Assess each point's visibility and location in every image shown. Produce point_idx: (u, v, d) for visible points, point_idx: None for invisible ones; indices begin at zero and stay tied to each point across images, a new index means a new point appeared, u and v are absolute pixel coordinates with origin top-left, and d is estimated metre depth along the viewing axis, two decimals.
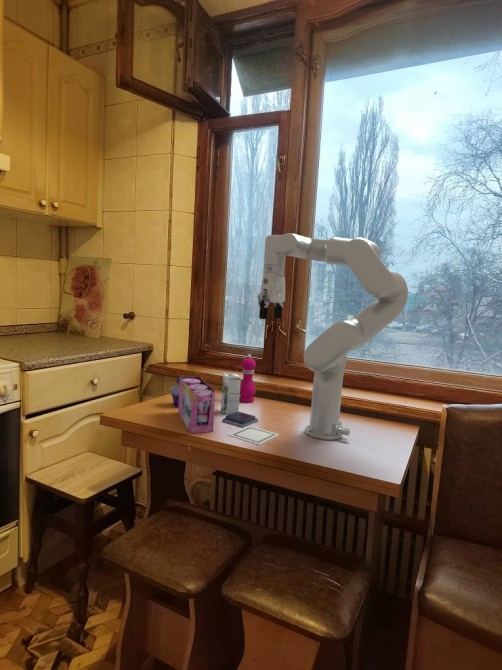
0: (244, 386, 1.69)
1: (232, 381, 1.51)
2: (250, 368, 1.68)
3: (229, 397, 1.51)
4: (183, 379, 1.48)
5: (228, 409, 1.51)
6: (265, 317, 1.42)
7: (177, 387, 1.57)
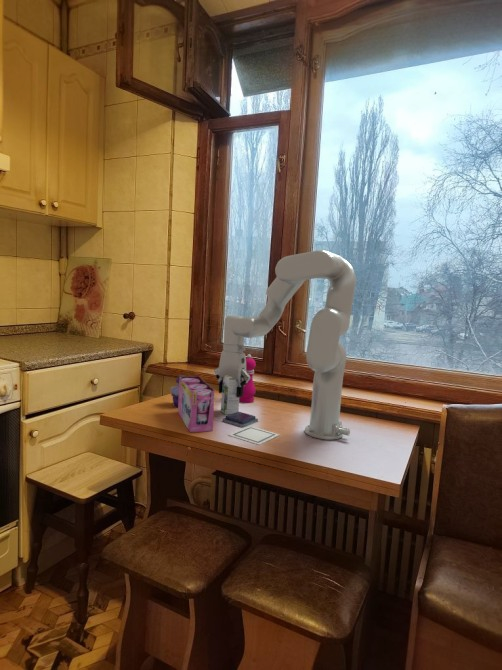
0: (244, 386, 1.69)
1: (232, 381, 1.51)
2: (250, 368, 1.68)
3: (229, 397, 1.51)
4: (183, 379, 1.49)
5: (228, 409, 1.51)
6: (241, 394, 1.52)
7: (177, 387, 1.57)
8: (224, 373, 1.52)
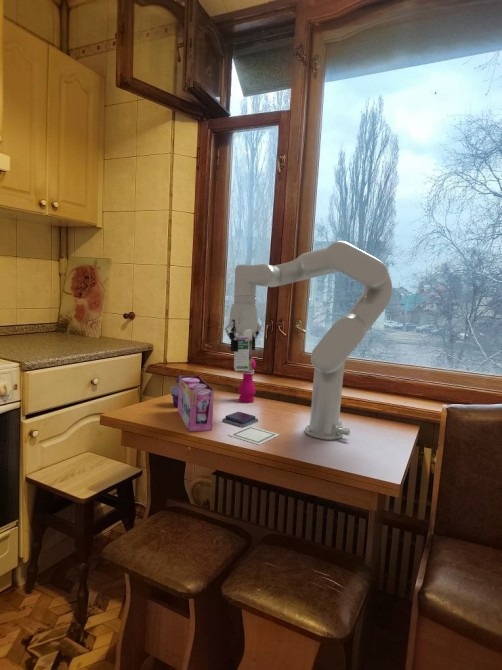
0: (244, 386, 1.69)
1: None
2: None
3: None
4: (182, 378, 1.49)
5: None
6: None
7: (177, 387, 1.57)
8: (244, 328, 1.40)
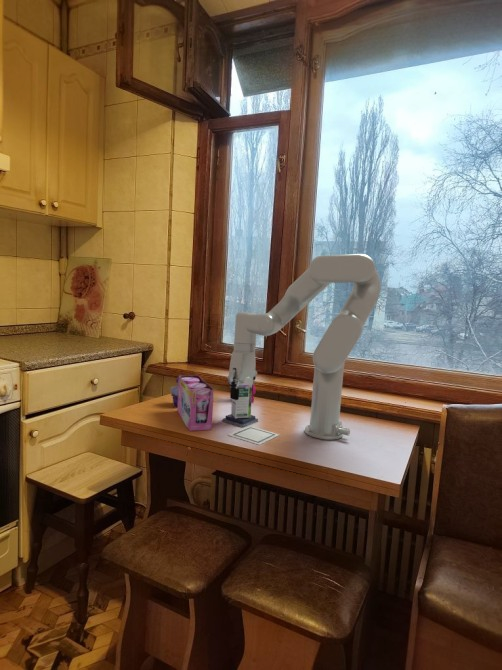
0: None
1: None
2: None
3: None
4: (182, 378, 1.50)
5: None
6: None
7: (177, 387, 1.57)
8: (245, 376, 1.40)
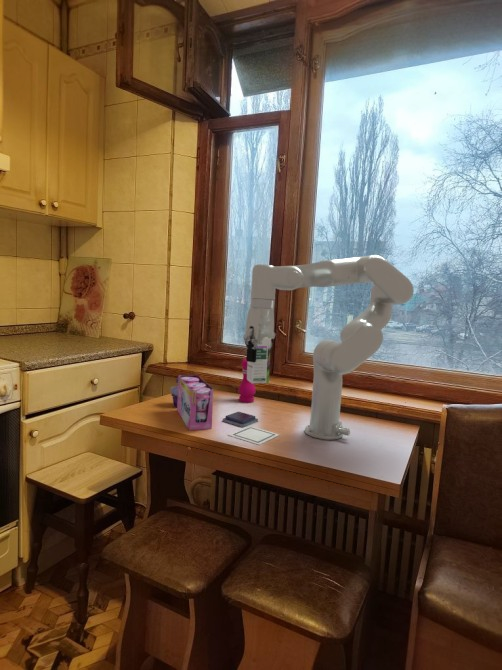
0: (244, 386, 1.69)
1: None
2: None
3: None
4: (182, 377, 1.51)
5: None
6: None
7: (177, 387, 1.57)
8: (263, 336, 1.25)
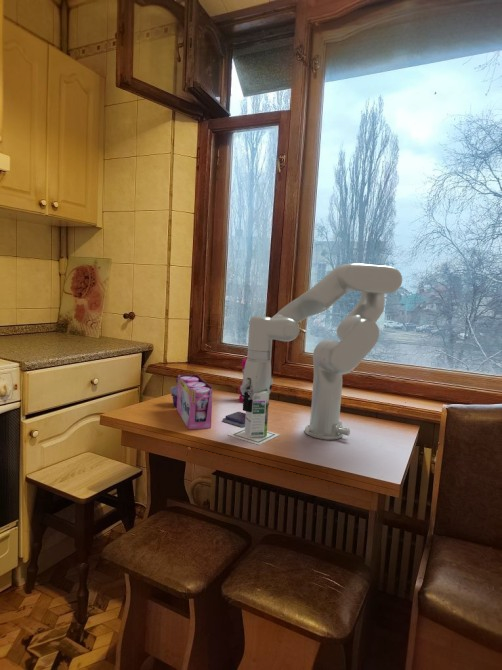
0: None
1: None
2: None
3: None
4: (181, 377, 1.51)
5: None
6: None
7: (177, 387, 1.57)
8: (260, 386, 1.27)
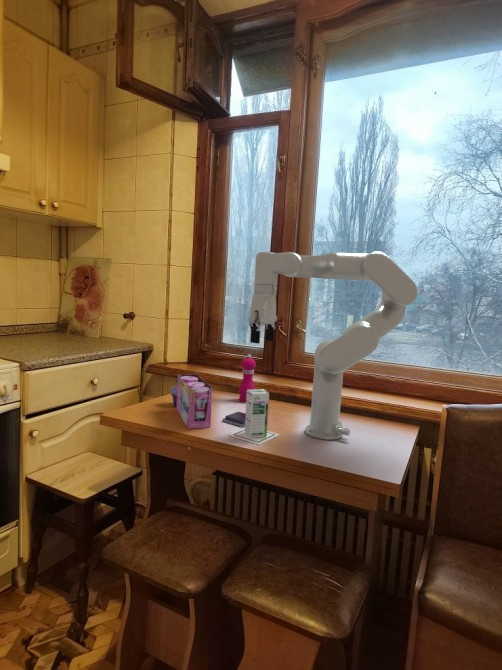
0: (244, 386, 1.69)
1: None
2: (250, 368, 1.68)
3: None
4: (181, 377, 1.52)
5: None
6: None
7: None
8: (266, 319, 1.32)
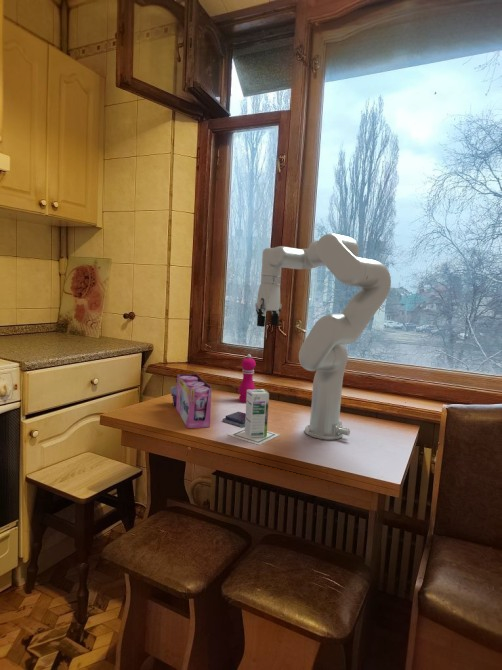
0: (244, 386, 1.69)
1: None
2: (250, 368, 1.68)
3: None
4: (181, 376, 1.52)
5: None
6: None
7: None
8: (271, 306, 1.54)
